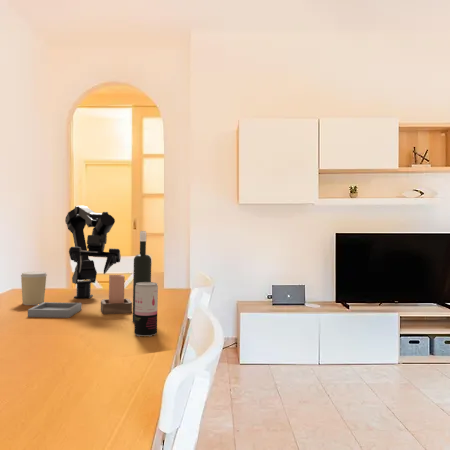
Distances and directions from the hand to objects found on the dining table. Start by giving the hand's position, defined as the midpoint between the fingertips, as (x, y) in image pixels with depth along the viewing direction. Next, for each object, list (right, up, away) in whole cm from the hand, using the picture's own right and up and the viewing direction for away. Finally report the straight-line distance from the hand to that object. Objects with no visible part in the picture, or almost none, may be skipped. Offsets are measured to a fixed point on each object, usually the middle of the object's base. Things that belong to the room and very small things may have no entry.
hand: (91, 272), depth 169 cm
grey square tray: (-10, -13, -8) cm, 19 cm away
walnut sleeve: (+10, -14, -2) cm, 17 cm away
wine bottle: (+22, -14, -18) cm, 32 cm away
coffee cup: (-26, -13, +9) cm, 30 cm away
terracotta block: (+10, -14, -2) cm, 17 cm away
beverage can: (+26, -15, -35) cm, 46 cm away
